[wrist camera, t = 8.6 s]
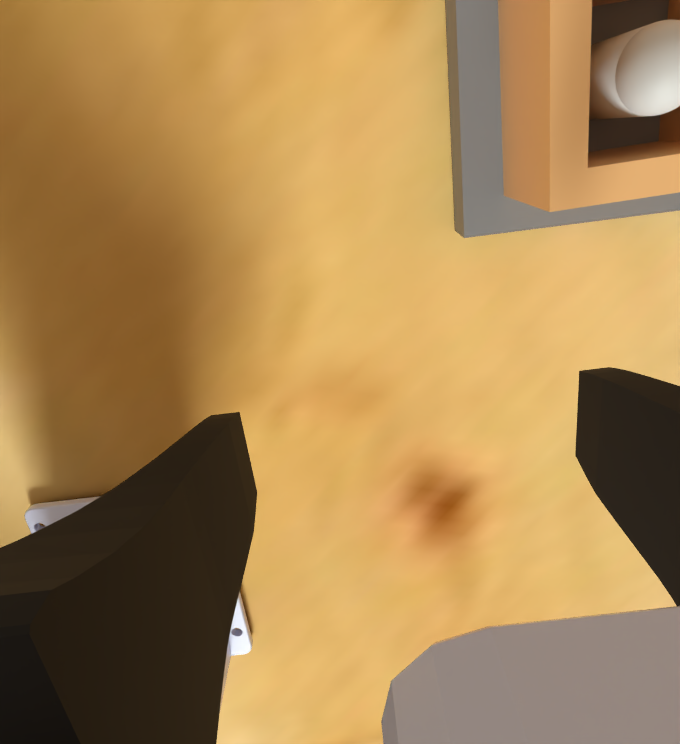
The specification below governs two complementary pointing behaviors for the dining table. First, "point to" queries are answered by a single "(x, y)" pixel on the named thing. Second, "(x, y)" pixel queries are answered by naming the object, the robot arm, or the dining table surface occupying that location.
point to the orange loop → (568, 114)
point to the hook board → (488, 123)
